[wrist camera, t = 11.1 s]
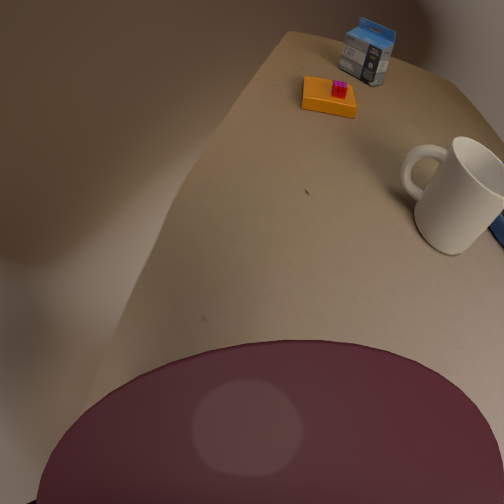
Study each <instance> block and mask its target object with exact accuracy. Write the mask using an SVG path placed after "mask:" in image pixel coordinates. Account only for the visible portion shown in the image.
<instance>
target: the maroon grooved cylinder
mask: <svg viewBox="0 0 504 504" xmlns="http://www.w3.org/2000/svg"><path fill="white" fill-rule="evenodd" d="M36 504H504V471H503V462H502V458H501V454H500V451H499V447H498V444H497V441H496V439H495V437H494V434H493V432H492V430H491V428H490V426H489V424H488V422H487V421H486V419H485V418H484V416H483V415H482V413H481V412H480V410H479V409H478V408H477V406H476V405H475V404H474V403H473V402H472V401H471V400H470V399H469V398H468V397H467V396H466V395H465V394H464V393H463V392H462V391H461V390H460V389H459V388H458V387H457V386H455V385H454V384H453V383H451V382H450V381H449V380H447V379H446V378H444V377H443V376H442V375H440V374H439V373H437V372H435V371H433V370H431V369H429V368H427V367H425V366H423V365H422V364H420V363H418V362H416V361H414V360H411V359H408V358H405V357H402V356H399V355H397V354H394V353H391V352H388V351H385V350H381V349H376V348H372V347H367V346H363V345H358V344H353V343H343V342H334V341H325V340H278V341H268V342H258V343H246V344H241V345H236V346H231V347H226V348H221V349H216V350H210V351H206V352H203V353H200V354H197V355H193V356H190V357H187V358H183V359H180V360H177V361H173V362H171V363H168V364H166V365H164V366H161V367H159V368H157V369H154V370H152V371H150V372H147V373H145V374H142V375H140V376H138V377H136V378H135V379H133V380H131V381H129V382H128V383H126V384H124V385H122V386H121V387H119V388H117V389H115V390H114V391H112V392H110V393H109V394H108V395H106V396H105V397H104V398H102V399H101V400H100V401H99V402H97V403H96V404H95V405H93V406H92V407H91V408H89V409H88V410H87V411H86V412H85V413H84V414H83V415H82V416H81V417H80V418H79V419H78V420H77V421H76V422H75V423H74V424H73V425H72V426H71V427H70V428H69V430H67V431H66V433H65V434H64V436H63V437H62V439H61V440H60V441H59V443H58V444H57V446H56V447H55V449H54V450H53V452H52V453H51V455H50V458H49V460H48V462H47V464H46V467H45V469H44V471H43V474H42V477H41V480H40V485H39V489H38V494H37V499H36Z"/></svg>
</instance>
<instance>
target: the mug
mask: <svg viewBox="0 0 504 504" xmlns="http://www.w3.org/2000/svg"><path fill="white" fill-rule="evenodd" d="M423 158H430V159H434V160H436V161H438V162H439V163H440V164H439V166H438V168H437V169H436V171H435V173H434V174H433V176H432V178H431V179H430V181H429V183H428V184H427V186H426V188H425V189H424V190H423V189H421V188H419V187H418V186H416V185H415V184H414V183H413V181H412V179H411V176H410V173H411V169H412V167H413V165H414V164H415V163H416V162H417V161H418V160H420V159H423ZM399 177H400V182H401V184H402V186H403V188H404V189H405V191H406V192H407V193H408V194H409V195H410V196H411V197H413V198H414V199H415V200H417V203H416V205H415V209H414V217H415V222H416V225H417V227H418V229H419V231H420V233H421V235H422V236H423V237H424V239H425V240H426V241H427V242H428V243H429V244H430V245H431V246H432V247H434V248H435V249H437V250H438V251H441V252H443V253H446V254H450V255H455V254H460V253H462V252H464V251H465V250H466V249H467V248H468V247H469V246H471V245H472V244H473V242H474V241H475V240H476V239H477V238H478V237H479V236H480V235H481V234H482V233H483V232H484V231H485V230H486V229H487V228H488V226H489V225H490V224H491V223H492V222H493V221H494V220H495V219H496V217H497V216H498V215H499V214H500V213H501V212H502V210H503V209H504V164H503V163H502V162H501V161H500V160H499V159H498V158H497V157H496V156H495V155H494V154H493V153H492V152H491V151H490V150H489V149H487V148H486V147H485V146H483V145H482V144H480V143H478V142H477V141H475V140H472V139H470V138H467V137H456V138H455V139H453V141H452V143H451V144H450V146H449V148H448V150H446V149H444V148H442V147H439V146H436V145H431V144H425V145H419V146H416V147H414V148H413V149H411V150H410V151H409V152H408V153H407V154H406V155H405V156H404V158H403V159H402V161H401V164H400V168H399Z"/></svg>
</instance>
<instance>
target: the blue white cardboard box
mask: <svg viewBox="0 0 504 504" xmlns="http://www.w3.org/2000/svg"><path fill="white" fill-rule="evenodd" d="M370 27H373V28H376V27H377V28H378V29H379V30H380V31H382V32H383V33H382V34H381V33H379V32H376V31H374V30H372V29H371V28H370ZM395 35H396V32H395V31H393V30H390V29H388V28H386V27H384V26H381V25H379V24H377V23H374V22H372V21H369V20H367V19H364V18H362V17H360V18H359V25H358V27H357V28H355V29H353V30H351V31H349V32H347V33H346V36H345V41H344V45H343V49H342V54H341V58H340V62H339V67H338V68H340V69H342V70H344V71H346V72H348V73H350V74H351V75H353V76H355V77H357V78H359V79H361V80H362V81H364V82H366V83H367V84H369V85H371V86H378V85H381V84H382V81H383V78H384V75H385V72H386V69H387V65H388V62H389V58H390V55H391V52H392V48H393V46H394V40H395Z"/></svg>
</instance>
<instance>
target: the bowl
mask: <svg viewBox="0 0 504 504" xmlns="http://www.w3.org/2000/svg"><path fill="white" fill-rule="evenodd" d="M502 163H503V162H502ZM503 164H504V163H503ZM489 227H490V229H491V230H492V232H493V233H494V235H495V236H496V238H497V239H498V240H499V242H500V243H501V244H502V246H503V247H504V209H503V210H502V212H501V213H500V214H499V215H498V216H497V217H496V219H495V220H494V221H493V222H492V223H491V224H490V225H489Z"/></svg>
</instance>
